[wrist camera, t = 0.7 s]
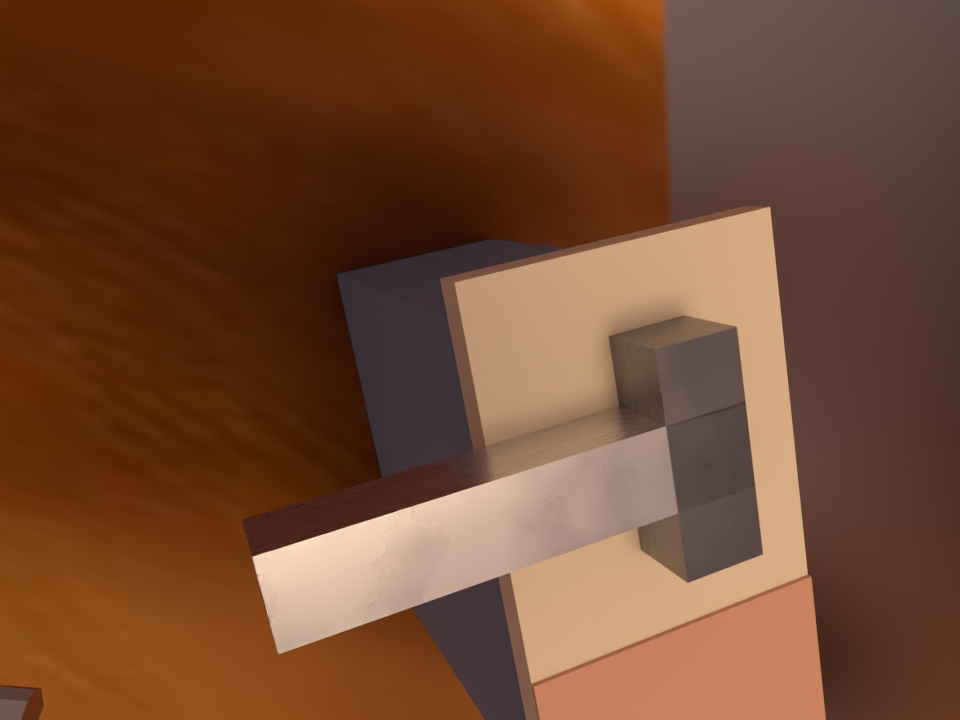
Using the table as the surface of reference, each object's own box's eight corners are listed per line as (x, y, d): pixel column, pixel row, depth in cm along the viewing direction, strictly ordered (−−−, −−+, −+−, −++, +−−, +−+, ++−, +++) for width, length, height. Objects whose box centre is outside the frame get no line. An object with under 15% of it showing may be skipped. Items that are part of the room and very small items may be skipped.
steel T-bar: (220, 442, 26) (229, 471, 23) (684, 315, 31) (736, 326, 28) (283, 678, 28) (298, 731, 25) (711, 524, 33) (763, 554, 30)
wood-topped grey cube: (312, 244, 52) (456, 283, 28) (500, 203, 55) (773, 206, 31) (401, 636, 58) (583, 948, 34) (565, 577, 62) (836, 820, 37)
